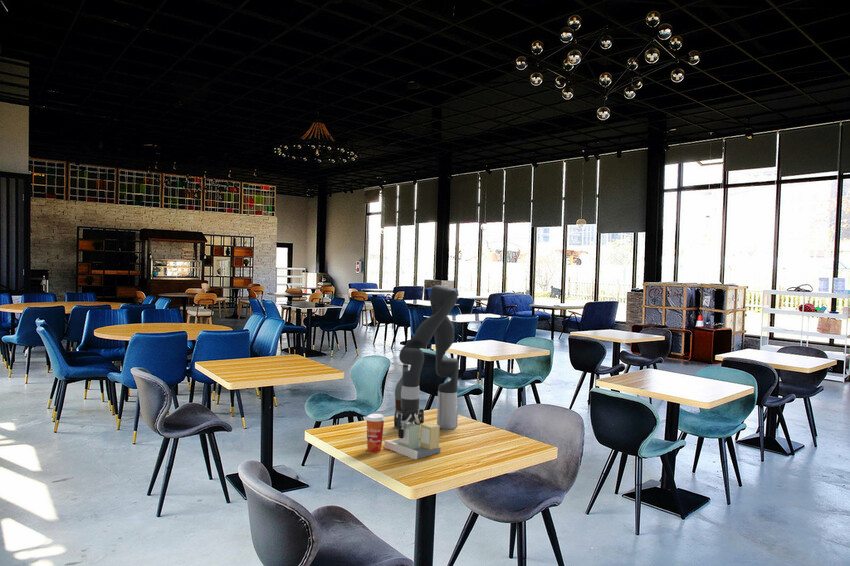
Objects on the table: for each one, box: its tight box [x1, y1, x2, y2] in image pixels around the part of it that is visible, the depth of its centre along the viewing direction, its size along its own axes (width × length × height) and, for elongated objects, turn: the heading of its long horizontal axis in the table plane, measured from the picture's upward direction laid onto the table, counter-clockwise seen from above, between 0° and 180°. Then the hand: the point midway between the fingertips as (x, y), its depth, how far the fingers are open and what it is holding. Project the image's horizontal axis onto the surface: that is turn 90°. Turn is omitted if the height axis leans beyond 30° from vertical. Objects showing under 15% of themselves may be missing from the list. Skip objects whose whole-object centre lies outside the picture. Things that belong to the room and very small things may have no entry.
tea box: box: [397, 422, 420, 449], centre depth 220 cm, size 5×7×9 cm
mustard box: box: [419, 422, 440, 450], centre depth 220 cm, size 5×6×9 cm
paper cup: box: [365, 413, 386, 453], centre depth 220 cm, size 8×8×14 cm
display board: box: [383, 439, 441, 460], centre depth 222 cm, size 14×19×3 cm
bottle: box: [393, 364, 414, 431], centre depth 254 cm, size 9×9×30 cm
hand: (408, 436), depth 220 cm, fingers open, 8 cm apart
